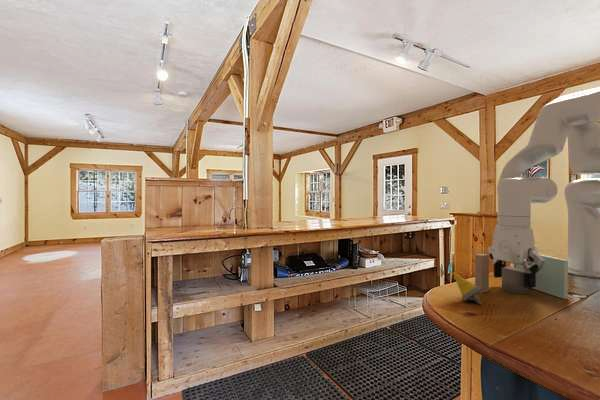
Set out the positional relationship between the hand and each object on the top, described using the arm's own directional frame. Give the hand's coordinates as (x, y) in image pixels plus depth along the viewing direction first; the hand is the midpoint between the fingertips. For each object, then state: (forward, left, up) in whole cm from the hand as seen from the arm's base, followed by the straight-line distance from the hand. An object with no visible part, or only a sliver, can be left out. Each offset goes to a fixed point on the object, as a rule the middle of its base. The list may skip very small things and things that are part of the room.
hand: (513, 281), depth 85 cm
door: (-6, +3, -2) cm, 7 cm away
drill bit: (+19, -1, -3) cm, 19 cm away
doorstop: (0, 0, -3) cm, 3 cm away
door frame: (-4, -4, -3) cm, 6 cm away
